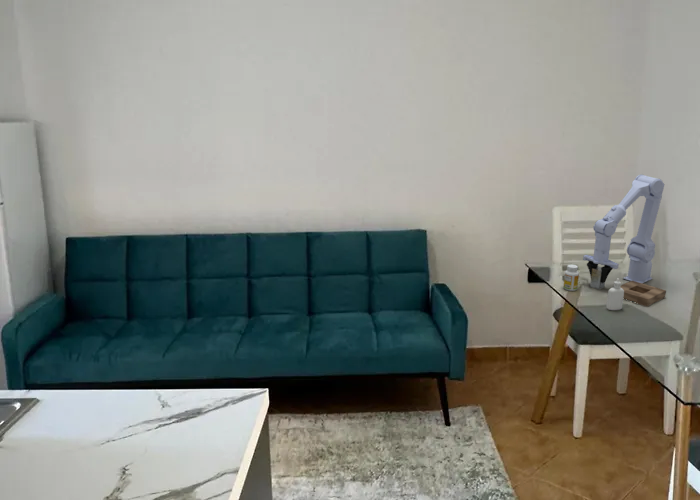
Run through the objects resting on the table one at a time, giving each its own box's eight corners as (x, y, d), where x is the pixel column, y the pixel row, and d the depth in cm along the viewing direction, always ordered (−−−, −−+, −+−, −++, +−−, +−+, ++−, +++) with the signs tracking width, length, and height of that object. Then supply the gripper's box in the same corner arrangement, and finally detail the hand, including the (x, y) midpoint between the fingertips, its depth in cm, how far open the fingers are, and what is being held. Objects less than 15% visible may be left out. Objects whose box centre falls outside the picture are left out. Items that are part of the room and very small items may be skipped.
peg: (595, 284, 265) (597, 266, 263) (604, 287, 262) (606, 268, 260) (590, 286, 263) (592, 268, 260) (599, 289, 260) (601, 270, 257)
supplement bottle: (575, 286, 263) (578, 264, 260) (578, 291, 258) (581, 268, 255) (562, 285, 264) (564, 263, 261) (564, 290, 259) (567, 268, 256)
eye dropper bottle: (605, 305, 245) (609, 275, 241) (621, 307, 243) (625, 277, 239) (606, 309, 241) (610, 280, 237) (622, 311, 239) (626, 281, 235)
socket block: (631, 287, 262) (631, 280, 261) (664, 297, 251) (666, 290, 250) (612, 295, 254) (613, 288, 253) (646, 306, 243) (647, 299, 242)
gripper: (580, 246, 260) (576, 278, 265) (613, 255, 250) (609, 288, 254) (589, 243, 265) (586, 274, 269) (623, 252, 254) (618, 284, 258)
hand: (598, 280), depth 262 cm, fingers closed on peg, 4 cm apart
